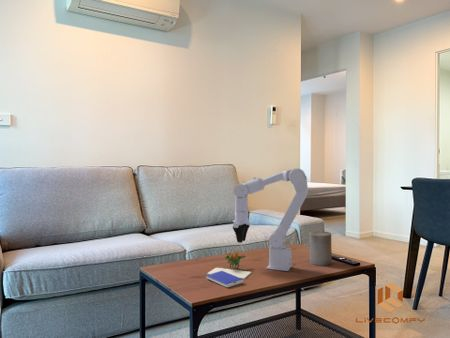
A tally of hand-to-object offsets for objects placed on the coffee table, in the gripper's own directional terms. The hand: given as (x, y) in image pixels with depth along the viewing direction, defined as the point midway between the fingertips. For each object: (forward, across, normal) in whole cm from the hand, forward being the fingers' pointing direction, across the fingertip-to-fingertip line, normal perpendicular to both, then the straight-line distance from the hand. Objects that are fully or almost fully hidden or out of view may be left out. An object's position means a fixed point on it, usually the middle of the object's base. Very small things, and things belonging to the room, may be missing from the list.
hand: (241, 241), depth 161 cm
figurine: (+10, +7, 0) cm, 13 cm away
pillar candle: (+11, -17, +32) cm, 38 cm away
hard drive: (+10, +24, +2) cm, 26 cm away
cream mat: (+10, +14, 0) cm, 17 cm away
